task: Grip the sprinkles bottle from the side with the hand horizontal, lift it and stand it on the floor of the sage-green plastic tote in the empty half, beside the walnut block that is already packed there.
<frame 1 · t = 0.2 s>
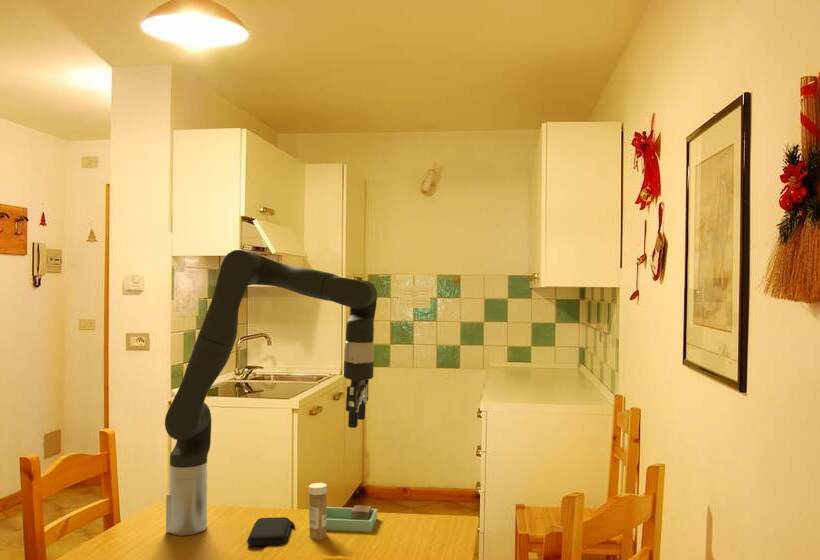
hand: (356, 423, 160), 29 cm above the table, tool pointing down, fingers open, 8 cm apart
sprinkles bottle: (317, 539, 158), on the table
carrying case or bag: (272, 538, 160), on the table
walnut block: (361, 523, 167), point 1 cm above the table, touching tote
tote: (346, 526, 167), on the table
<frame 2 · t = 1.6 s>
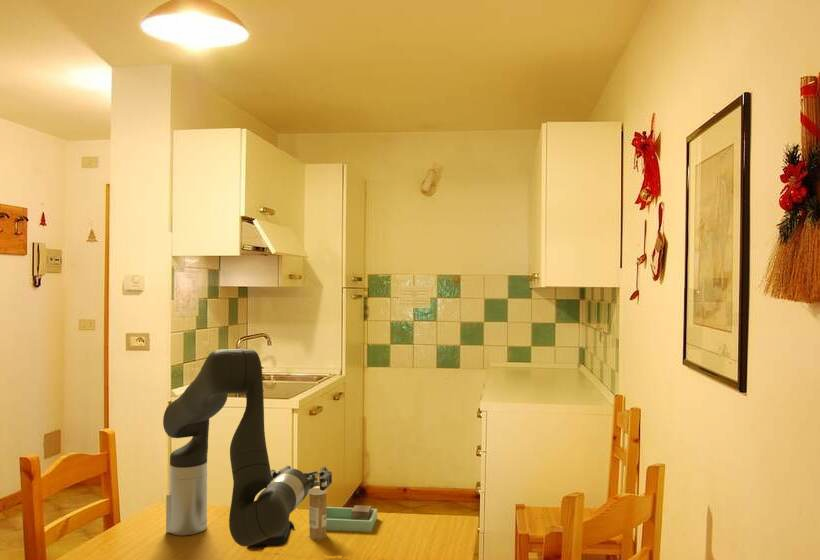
hand: (306, 470, 148), 20 cm above the table, tool horizontal, fingers open, 8 cm apart
nothing on the table moved.
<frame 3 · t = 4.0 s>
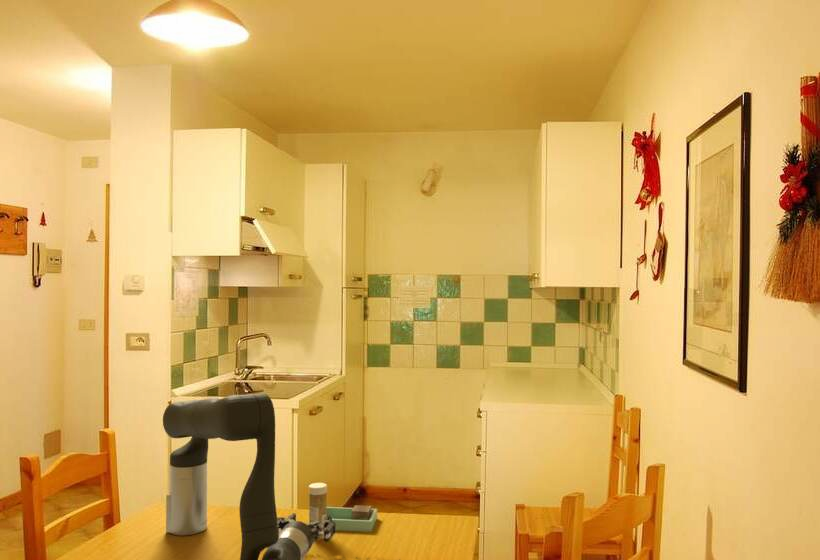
hand: (311, 518, 153), 7 cm above the table, tool horizontal, fingers open, 8 cm apart
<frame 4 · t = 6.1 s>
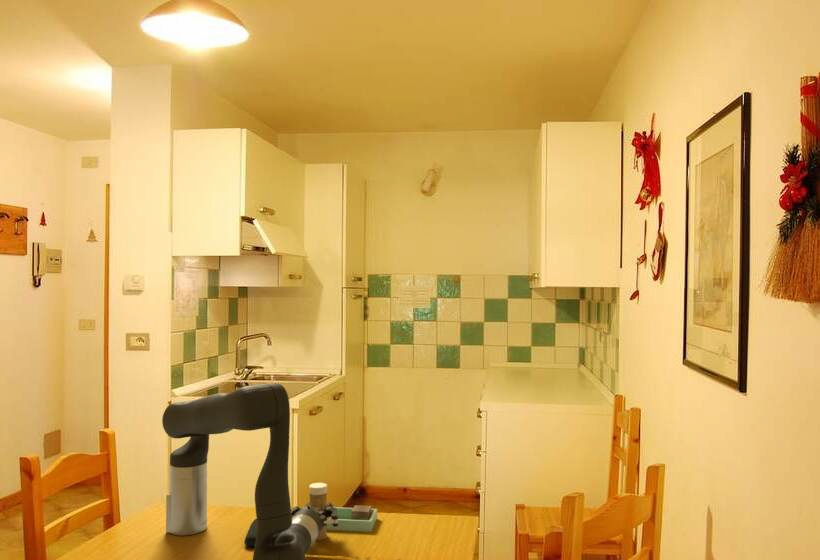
hand: (320, 505, 161), 7 cm above the table, tool horizontal, fingers closed on sprinkles bottle, 4 cm apart
sprinkles bottle: (317, 539, 158), on the table, touching gripper
everything else where it was.
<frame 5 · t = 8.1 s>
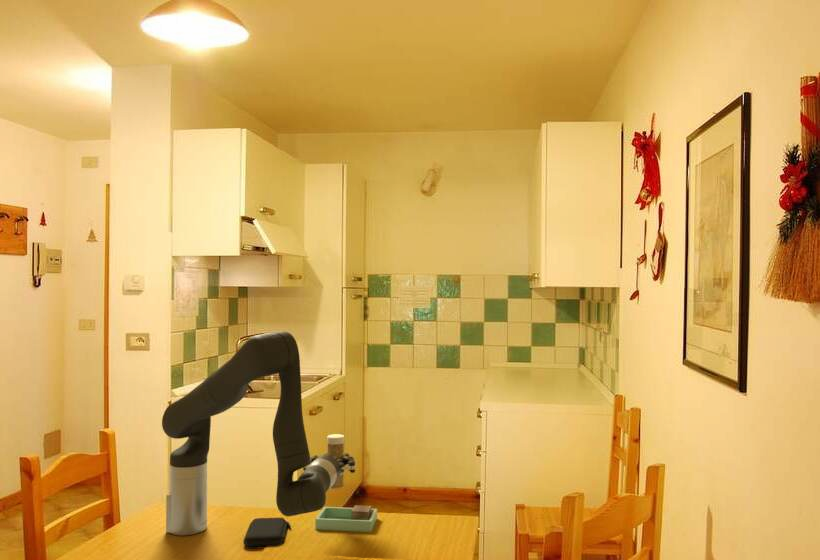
hand: (337, 456, 169), 18 cm above the table, tool horizontal, fingers closed on sprinkles bottle, 4 cm apart
sprinkles bottle: (335, 487, 166), point 10 cm above the table, touching gripper
when the fingers open (9 cm above the table, at t = 10.5 s): sprinkles bottle drops 1 cm, resting on tote.
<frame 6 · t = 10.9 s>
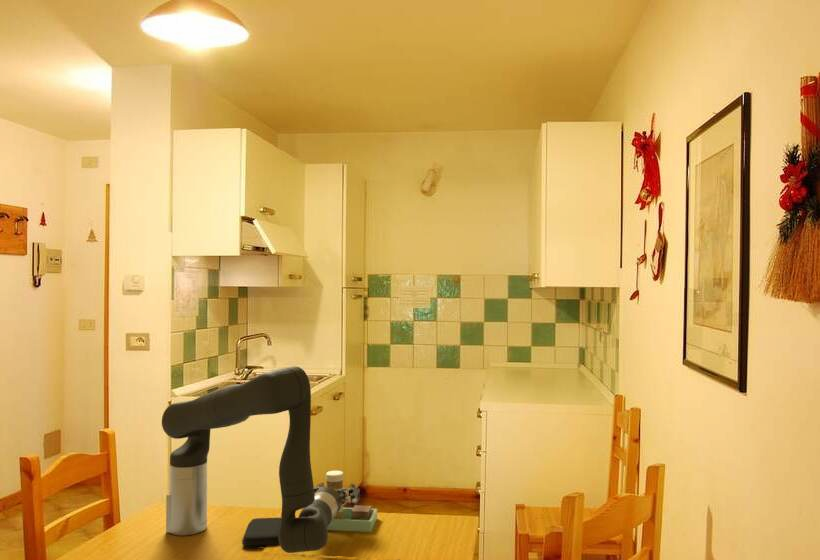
hand: (337, 486, 169), 10 cm above the table, tool horizontal, fingers open, 8 cm apart
sprinkles bottle: (334, 524, 167), resting on tote
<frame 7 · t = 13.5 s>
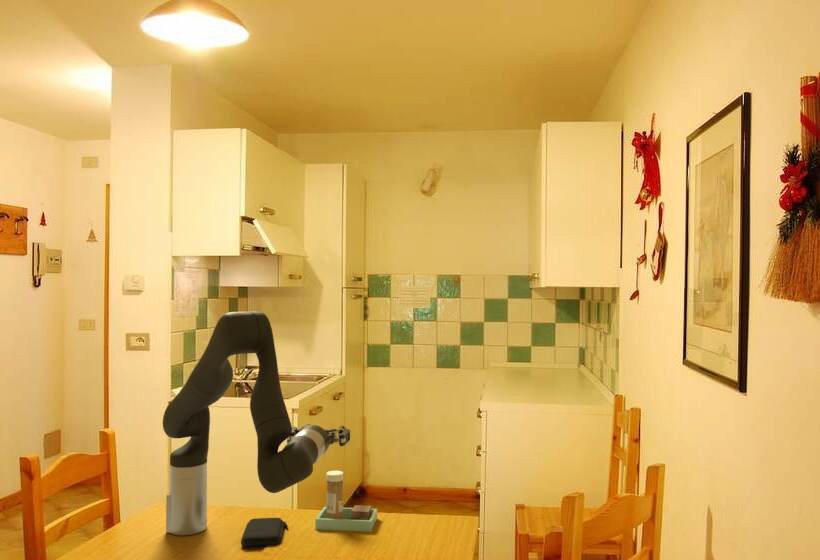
hand: (326, 428, 156), 28 cm above the table, tool horizontal, fingers open, 8 cm apart
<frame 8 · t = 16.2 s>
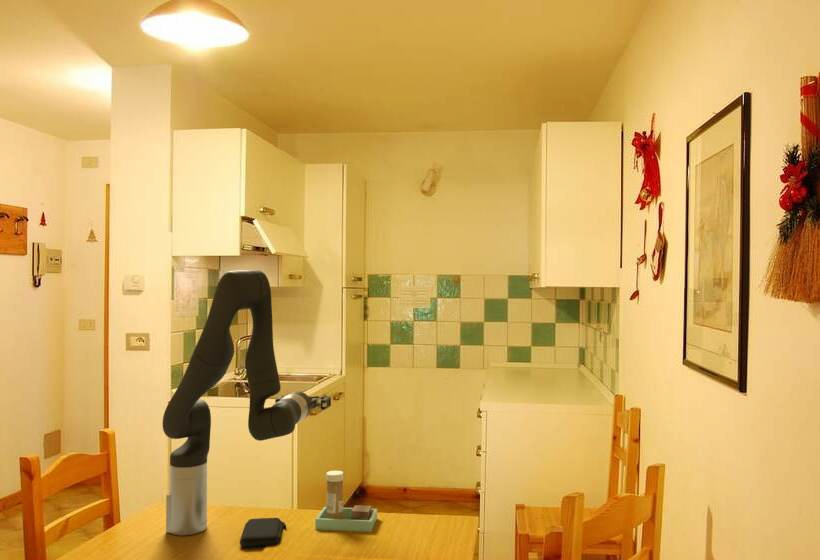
hand: (310, 397, 177), 32 cm above the table, tool horizontal, fingers open, 8 cm apart
at the end: sprinkles bottle inside the target area on the tote (0.6 cm from its centre), point 0.4 cm above the tote's base; sprinkles bottle tilted 0°; walnut block moved 0.0 cm from its start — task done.
